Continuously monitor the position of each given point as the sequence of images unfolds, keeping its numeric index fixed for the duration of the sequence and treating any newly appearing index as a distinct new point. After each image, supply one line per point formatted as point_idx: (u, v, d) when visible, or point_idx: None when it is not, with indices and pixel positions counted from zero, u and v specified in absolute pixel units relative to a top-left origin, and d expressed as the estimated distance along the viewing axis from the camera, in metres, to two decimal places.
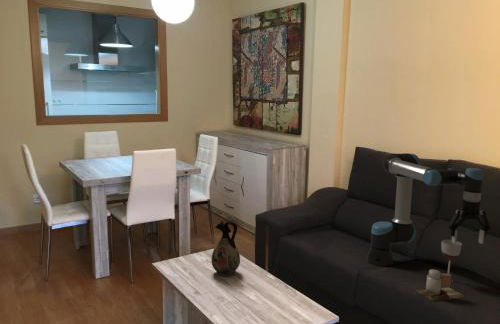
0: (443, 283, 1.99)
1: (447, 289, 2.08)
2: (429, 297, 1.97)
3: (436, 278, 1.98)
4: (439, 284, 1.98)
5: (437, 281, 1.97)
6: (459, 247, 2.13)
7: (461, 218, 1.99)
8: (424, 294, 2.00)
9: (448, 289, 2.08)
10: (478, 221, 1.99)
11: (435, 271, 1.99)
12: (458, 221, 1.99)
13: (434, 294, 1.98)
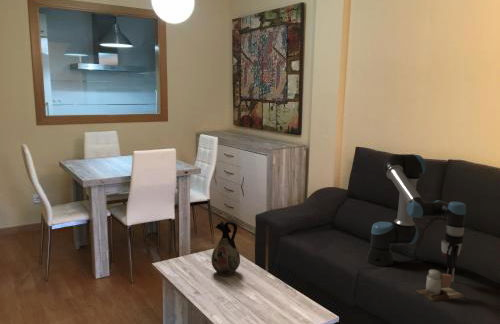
0: (443, 283, 1.99)
1: (447, 289, 2.08)
2: (429, 297, 1.97)
3: (436, 278, 1.98)
4: (439, 284, 1.98)
5: (437, 281, 1.97)
6: (459, 247, 2.13)
7: None
8: (424, 294, 2.00)
9: (448, 289, 2.08)
10: None
11: (435, 271, 1.99)
12: None
13: (434, 294, 1.98)
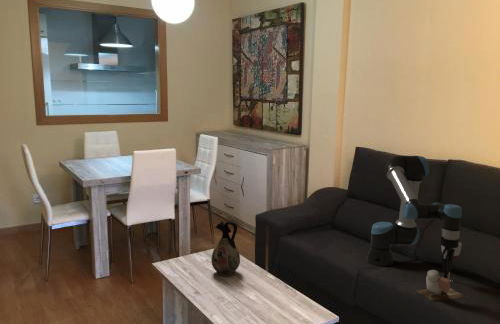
0: (441, 286, 1.95)
1: None
2: (429, 297, 1.97)
3: (431, 280, 1.96)
4: (434, 286, 1.96)
5: (431, 283, 1.95)
6: (459, 247, 2.13)
7: None
8: (424, 294, 2.00)
9: None
10: None
11: (433, 274, 1.96)
12: None
13: None
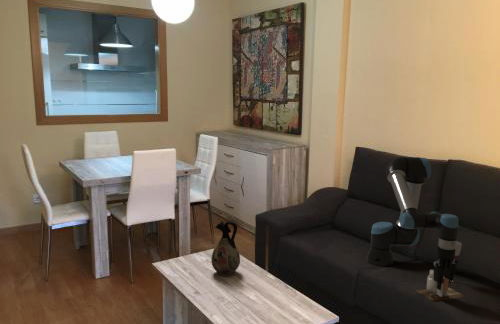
0: None
1: None
2: (429, 297, 1.97)
3: (431, 277, 1.99)
4: (433, 284, 1.98)
5: (430, 279, 1.98)
6: (459, 247, 2.13)
7: (441, 268, 1.93)
8: (424, 294, 2.00)
9: (448, 289, 2.08)
10: (448, 270, 1.94)
11: None
12: (440, 273, 1.93)
13: None
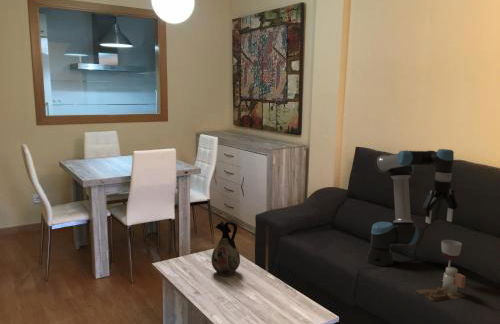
0: (455, 282, 2.00)
1: None
2: (429, 297, 1.97)
3: (447, 274, 2.03)
4: (449, 281, 2.01)
5: (447, 276, 2.02)
6: (459, 247, 2.13)
7: (434, 198, 2.04)
8: (424, 294, 2.00)
9: None
10: (448, 200, 2.06)
11: (451, 269, 2.03)
12: (432, 201, 2.04)
13: (444, 289, 2.04)
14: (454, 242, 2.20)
